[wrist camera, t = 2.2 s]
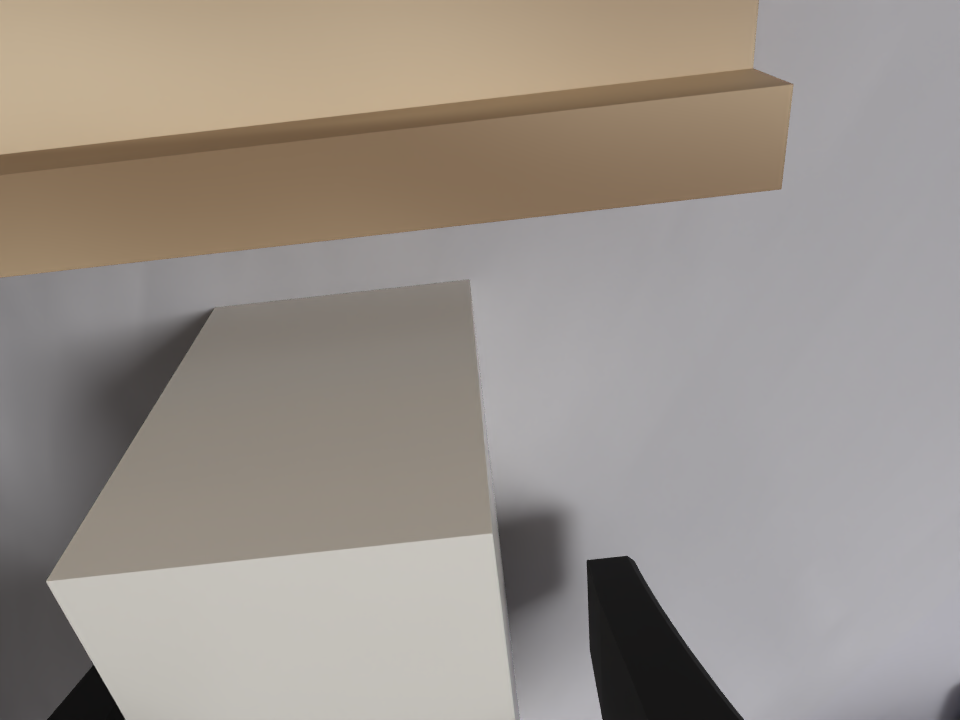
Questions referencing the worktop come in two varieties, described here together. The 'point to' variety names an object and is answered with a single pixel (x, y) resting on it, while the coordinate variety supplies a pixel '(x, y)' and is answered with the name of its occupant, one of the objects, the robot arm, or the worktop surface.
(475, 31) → the wooden base plate
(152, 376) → the worktop surface
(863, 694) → the worktop surface
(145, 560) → the white rectangular block
